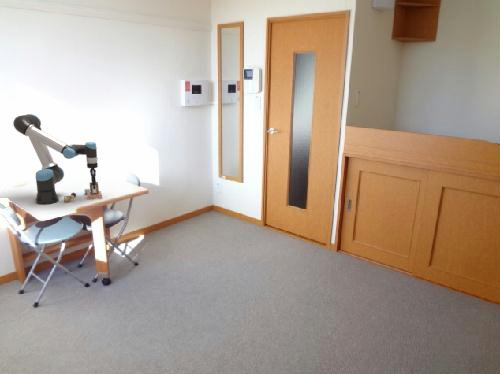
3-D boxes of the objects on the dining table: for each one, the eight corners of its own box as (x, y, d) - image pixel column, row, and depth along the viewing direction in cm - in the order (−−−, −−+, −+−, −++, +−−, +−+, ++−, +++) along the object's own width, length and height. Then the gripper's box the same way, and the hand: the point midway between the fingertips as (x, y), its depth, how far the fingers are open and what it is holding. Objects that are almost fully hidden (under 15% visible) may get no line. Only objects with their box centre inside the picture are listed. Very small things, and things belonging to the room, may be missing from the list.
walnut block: (90, 193, 299) (89, 184, 298) (90, 191, 305) (89, 182, 303) (98, 192, 302) (98, 184, 300) (98, 190, 307) (97, 182, 305)
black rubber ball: (71, 198, 299) (70, 193, 298) (71, 196, 303) (70, 192, 302) (76, 197, 301) (75, 193, 300) (76, 196, 304) (75, 191, 303)
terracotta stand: (88, 199, 298) (87, 195, 297) (87, 195, 307) (87, 192, 306) (102, 198, 302) (101, 194, 301) (101, 194, 311) (100, 190, 310)
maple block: (66, 202, 288) (65, 197, 287) (64, 201, 291) (63, 196, 290) (74, 201, 292) (74, 196, 291) (72, 200, 295) (72, 195, 294)
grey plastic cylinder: (84, 195, 308) (84, 190, 307) (84, 193, 311) (84, 189, 310) (90, 194, 309) (89, 190, 308) (90, 193, 313) (89, 188, 312)
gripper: (98, 164, 290) (100, 194, 296) (96, 159, 307) (98, 188, 313) (87, 165, 287) (89, 195, 293) (86, 160, 304) (88, 188, 310)
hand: (94, 191), depth 303 cm, fingers closed on walnut block, 6 cm apart
